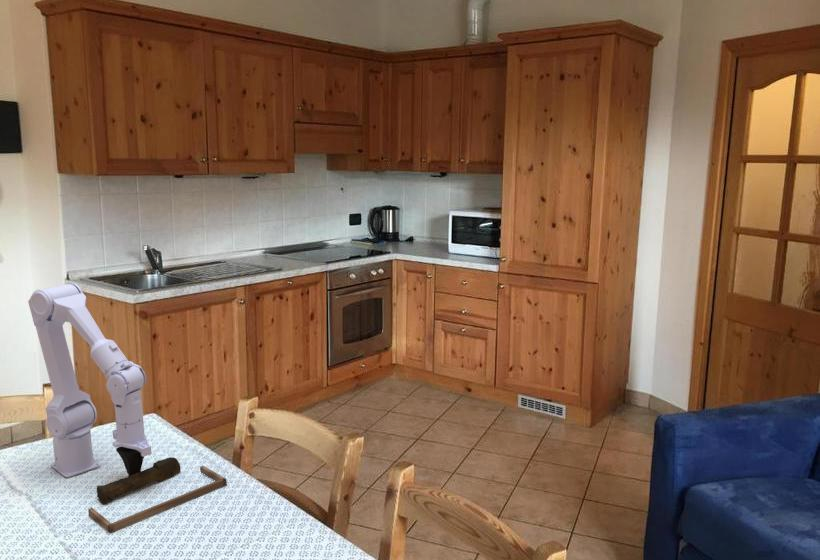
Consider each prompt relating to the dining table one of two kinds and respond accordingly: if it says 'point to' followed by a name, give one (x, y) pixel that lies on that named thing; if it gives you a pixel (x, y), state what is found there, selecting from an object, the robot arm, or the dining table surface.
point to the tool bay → (161, 507)
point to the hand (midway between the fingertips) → (134, 475)
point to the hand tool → (139, 479)
